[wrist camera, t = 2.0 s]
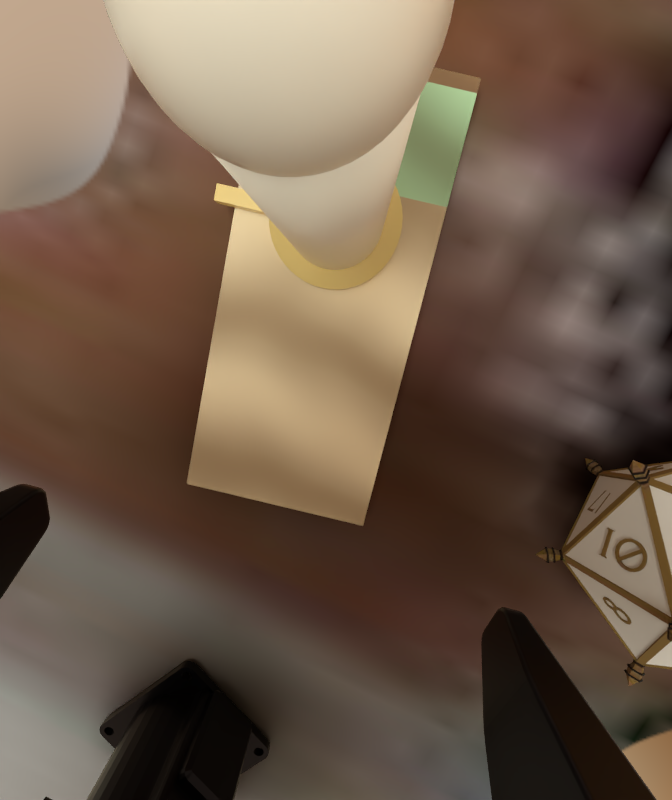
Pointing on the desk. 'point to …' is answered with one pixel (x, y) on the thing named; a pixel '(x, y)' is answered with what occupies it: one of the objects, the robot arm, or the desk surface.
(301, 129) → the peg
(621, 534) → the game die
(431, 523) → the desk surface
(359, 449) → the board
